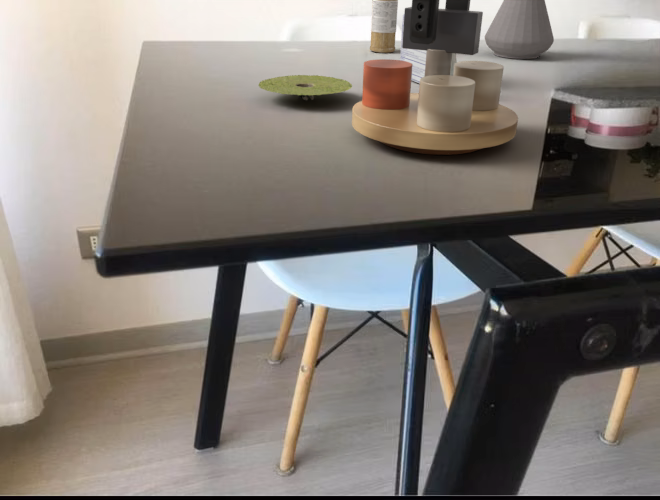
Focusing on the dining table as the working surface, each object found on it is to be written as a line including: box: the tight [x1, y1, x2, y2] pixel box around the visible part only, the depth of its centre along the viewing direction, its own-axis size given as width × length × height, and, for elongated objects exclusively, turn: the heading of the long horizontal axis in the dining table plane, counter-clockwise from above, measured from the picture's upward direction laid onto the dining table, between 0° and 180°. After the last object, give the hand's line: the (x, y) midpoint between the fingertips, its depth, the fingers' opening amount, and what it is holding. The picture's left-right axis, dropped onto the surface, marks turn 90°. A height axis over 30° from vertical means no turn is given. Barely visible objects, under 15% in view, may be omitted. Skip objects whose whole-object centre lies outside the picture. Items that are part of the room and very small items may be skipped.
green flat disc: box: [258, 74, 353, 101], centre depth 76 cm, size 11×11×2 cm
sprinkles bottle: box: [369, 0, 399, 54], centre depth 108 cm, size 5×5×14 cm
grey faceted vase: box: [484, 0, 555, 60], centre depth 104 cm, size 21×12×15 cm, turn 65°
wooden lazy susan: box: [351, 6, 519, 150], centre depth 60 cm, size 16×16×11 cm
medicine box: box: [399, 13, 427, 85], centre depth 86 cm, size 8×4×9 cm, turn 22°
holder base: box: [381, 142, 483, 156], centre depth 63 cm, size 11×11×1 cm
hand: (439, 38), depth 59 cm, fingers open, 8 cm apart
